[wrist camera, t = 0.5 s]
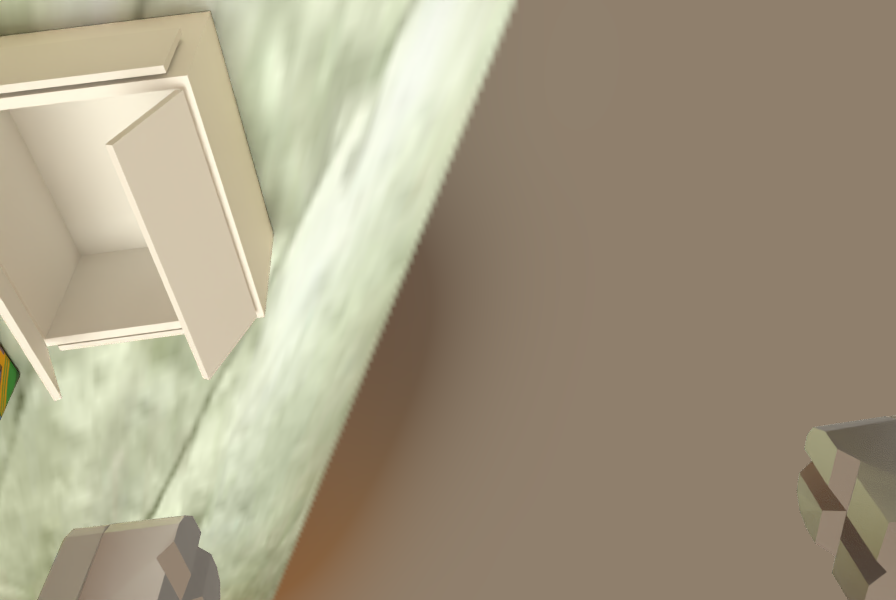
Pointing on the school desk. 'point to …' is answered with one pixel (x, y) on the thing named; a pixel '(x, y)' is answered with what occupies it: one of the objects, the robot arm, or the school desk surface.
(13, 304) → the flap
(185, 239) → the flap
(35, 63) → the carton
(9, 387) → the chalk box
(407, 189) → the school desk surface
